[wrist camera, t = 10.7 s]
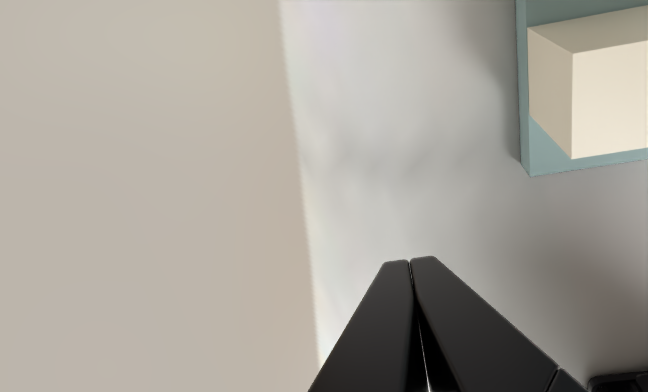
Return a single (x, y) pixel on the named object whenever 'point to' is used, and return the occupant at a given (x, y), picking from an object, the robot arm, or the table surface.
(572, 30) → the cream block
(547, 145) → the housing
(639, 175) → the table surface
